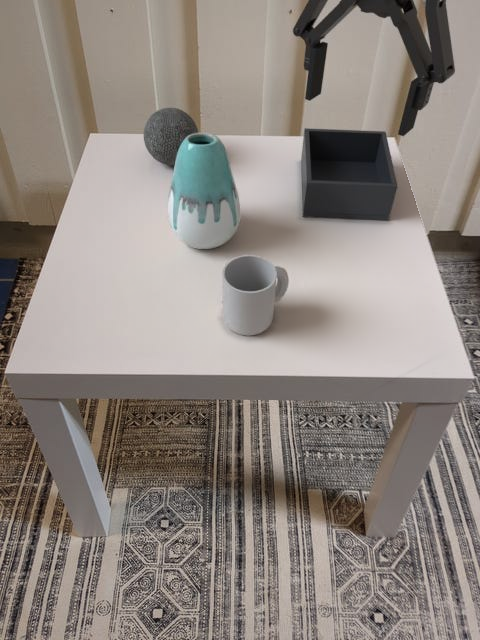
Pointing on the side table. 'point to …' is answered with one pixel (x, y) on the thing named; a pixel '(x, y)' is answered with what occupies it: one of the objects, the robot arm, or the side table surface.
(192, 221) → the vase
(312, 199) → the open box
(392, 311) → the side table surface
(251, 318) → the cup
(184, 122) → the decorative ball
